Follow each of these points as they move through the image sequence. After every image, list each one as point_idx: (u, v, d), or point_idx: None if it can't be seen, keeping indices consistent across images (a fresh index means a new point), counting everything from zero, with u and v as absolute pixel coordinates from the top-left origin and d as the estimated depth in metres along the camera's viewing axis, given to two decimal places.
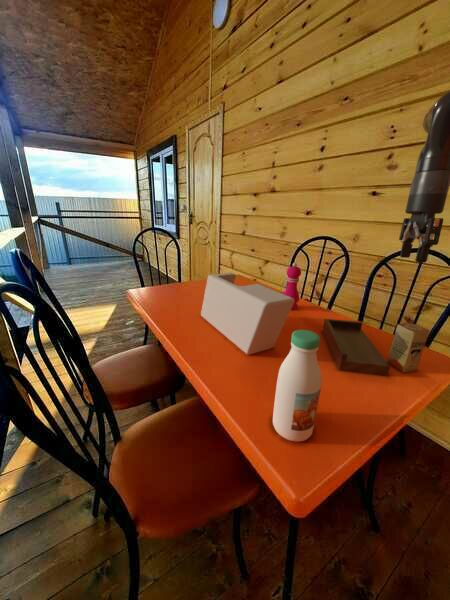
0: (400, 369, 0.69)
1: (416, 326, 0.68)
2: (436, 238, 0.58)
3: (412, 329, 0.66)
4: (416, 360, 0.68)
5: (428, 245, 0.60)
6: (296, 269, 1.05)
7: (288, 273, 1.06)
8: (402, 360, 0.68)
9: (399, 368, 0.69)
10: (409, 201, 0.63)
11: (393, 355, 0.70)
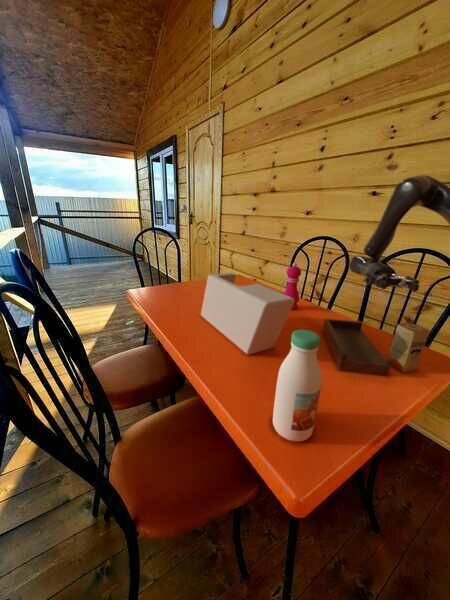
0: (400, 369, 0.69)
1: (416, 326, 0.68)
2: (369, 277, 0.81)
3: (412, 329, 0.66)
4: (417, 360, 0.68)
5: (373, 282, 0.80)
6: (296, 269, 1.05)
7: (288, 273, 1.06)
8: (402, 360, 0.68)
9: (399, 368, 0.69)
10: None
11: (393, 355, 0.70)
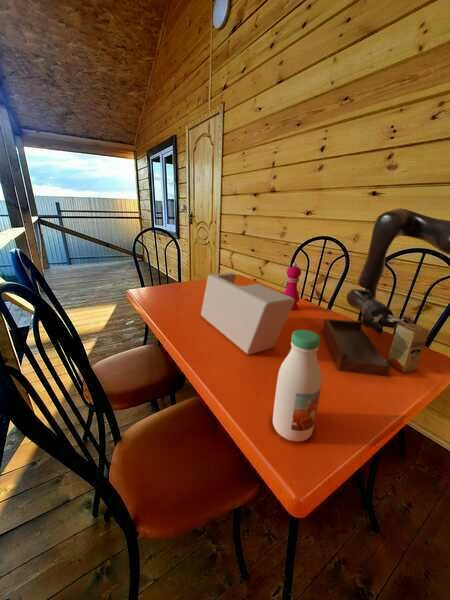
0: (400, 369, 0.69)
1: (416, 326, 0.68)
2: None
3: (412, 329, 0.66)
4: (417, 360, 0.68)
5: (369, 324, 0.80)
6: (296, 269, 1.05)
7: (288, 273, 1.06)
8: (402, 360, 0.68)
9: (399, 368, 0.69)
10: None
11: (393, 355, 0.70)
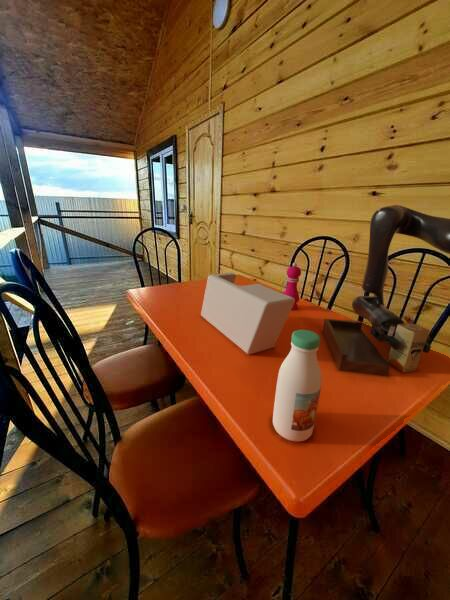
0: (400, 369, 0.69)
1: (416, 326, 0.68)
2: None
3: (412, 329, 0.66)
4: (417, 360, 0.68)
5: (383, 338, 0.71)
6: (296, 269, 1.05)
7: (288, 273, 1.06)
8: (402, 360, 0.68)
9: (399, 368, 0.69)
10: None
11: (393, 355, 0.70)
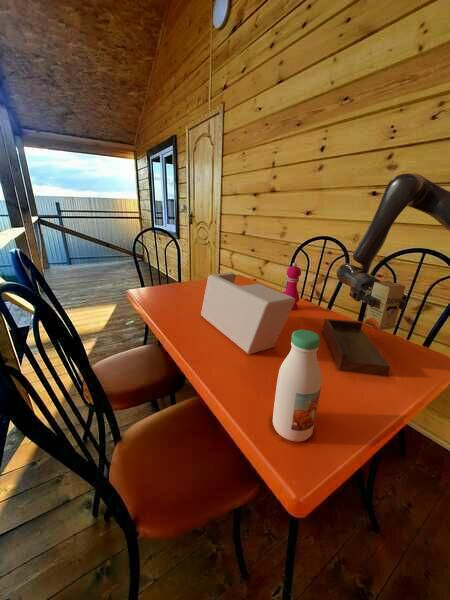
0: (376, 327, 0.68)
1: (393, 283, 0.67)
2: None
3: (388, 285, 0.65)
4: (393, 317, 0.68)
5: (360, 298, 0.71)
6: (296, 269, 1.05)
7: (288, 273, 1.06)
8: (378, 317, 0.67)
9: (376, 326, 0.68)
10: None
11: (370, 314, 0.70)
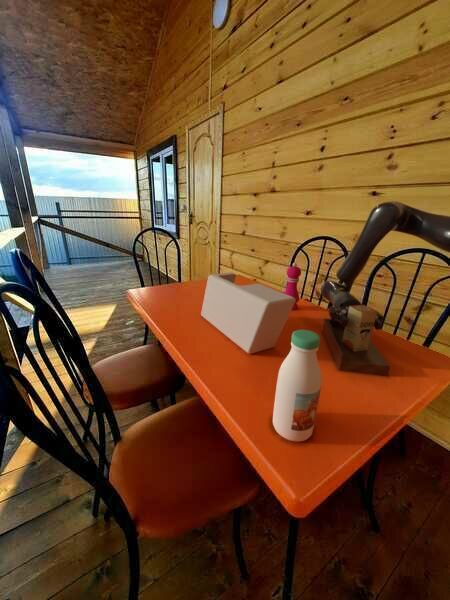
0: (352, 348, 0.72)
1: (366, 307, 0.71)
2: None
3: (361, 310, 0.69)
4: (367, 339, 0.72)
5: (335, 317, 0.75)
6: (296, 269, 1.05)
7: (288, 273, 1.06)
8: (353, 340, 0.72)
9: (351, 348, 0.73)
10: None
11: (346, 336, 0.74)
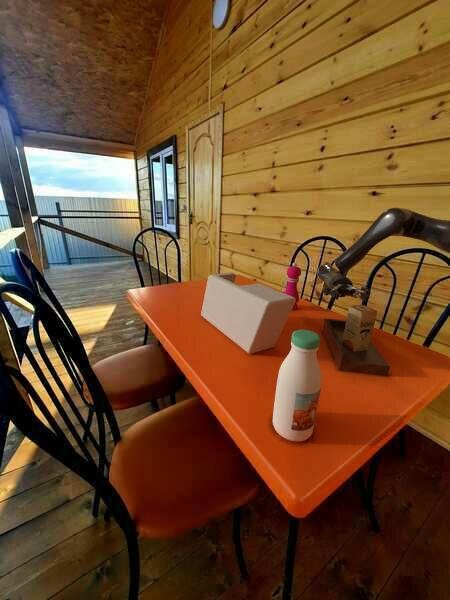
0: (352, 348, 0.72)
1: (366, 307, 0.71)
2: None
3: (361, 310, 0.69)
4: (367, 339, 0.72)
5: (328, 292, 0.85)
6: (296, 269, 1.05)
7: (288, 273, 1.06)
8: (353, 340, 0.72)
9: (351, 348, 0.73)
10: None
11: (346, 336, 0.74)
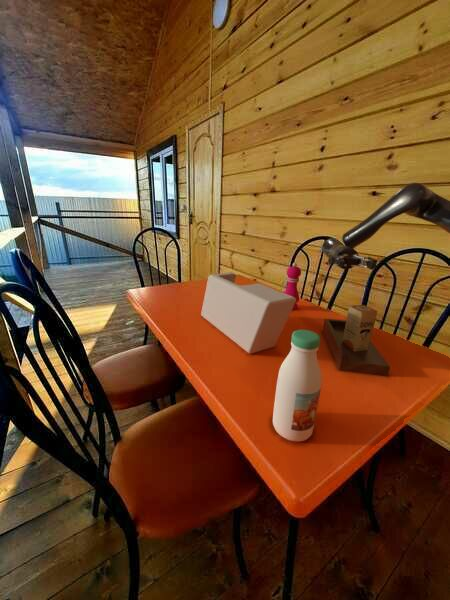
0: (352, 348, 0.72)
1: (366, 307, 0.71)
2: None
3: (361, 310, 0.69)
4: (367, 339, 0.72)
5: (333, 261, 0.83)
6: (296, 269, 1.05)
7: (288, 273, 1.06)
8: (353, 340, 0.72)
9: (351, 348, 0.73)
10: None
11: (346, 336, 0.74)
